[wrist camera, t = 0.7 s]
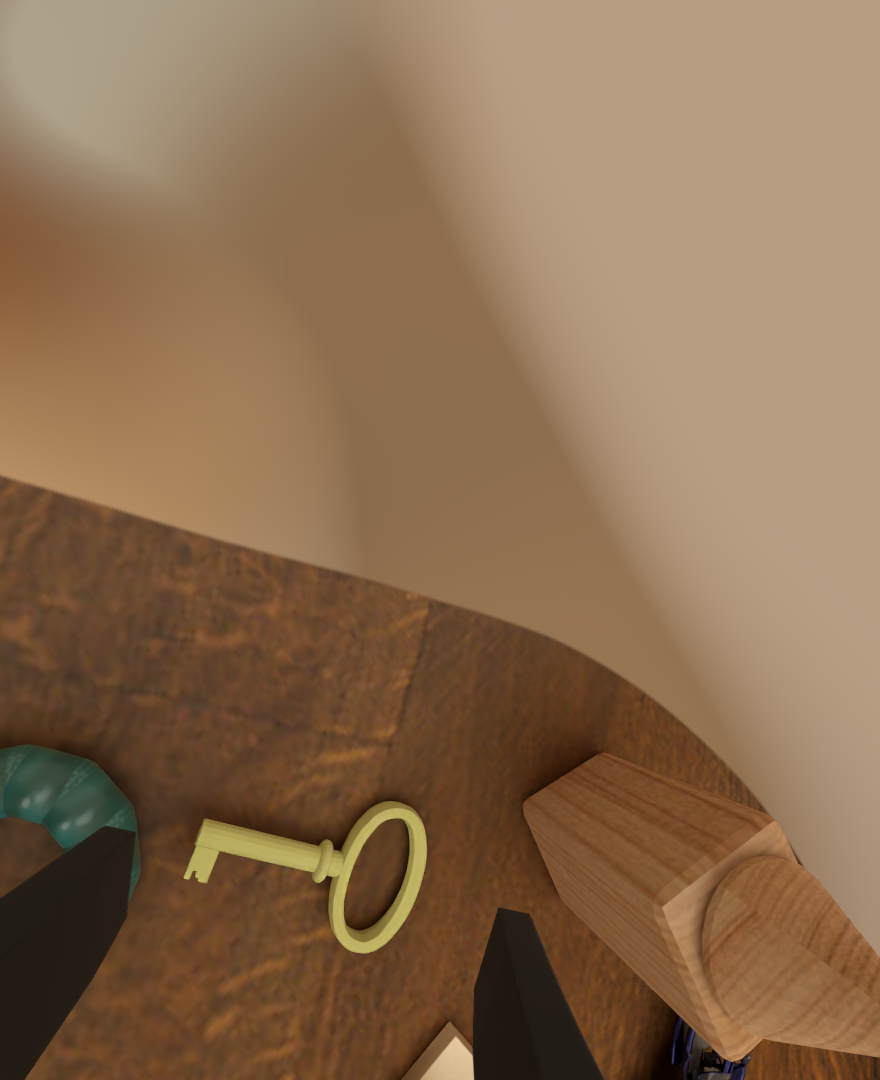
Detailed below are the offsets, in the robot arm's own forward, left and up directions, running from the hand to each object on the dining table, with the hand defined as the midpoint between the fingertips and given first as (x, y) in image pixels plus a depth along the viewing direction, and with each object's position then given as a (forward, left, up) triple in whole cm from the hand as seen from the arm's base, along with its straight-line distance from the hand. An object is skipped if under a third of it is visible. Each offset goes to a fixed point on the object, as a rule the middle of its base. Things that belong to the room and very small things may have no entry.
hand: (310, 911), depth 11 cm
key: (-3, -6, -21) cm, 22 cm away
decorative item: (+9, -16, -21) cm, 28 cm away
